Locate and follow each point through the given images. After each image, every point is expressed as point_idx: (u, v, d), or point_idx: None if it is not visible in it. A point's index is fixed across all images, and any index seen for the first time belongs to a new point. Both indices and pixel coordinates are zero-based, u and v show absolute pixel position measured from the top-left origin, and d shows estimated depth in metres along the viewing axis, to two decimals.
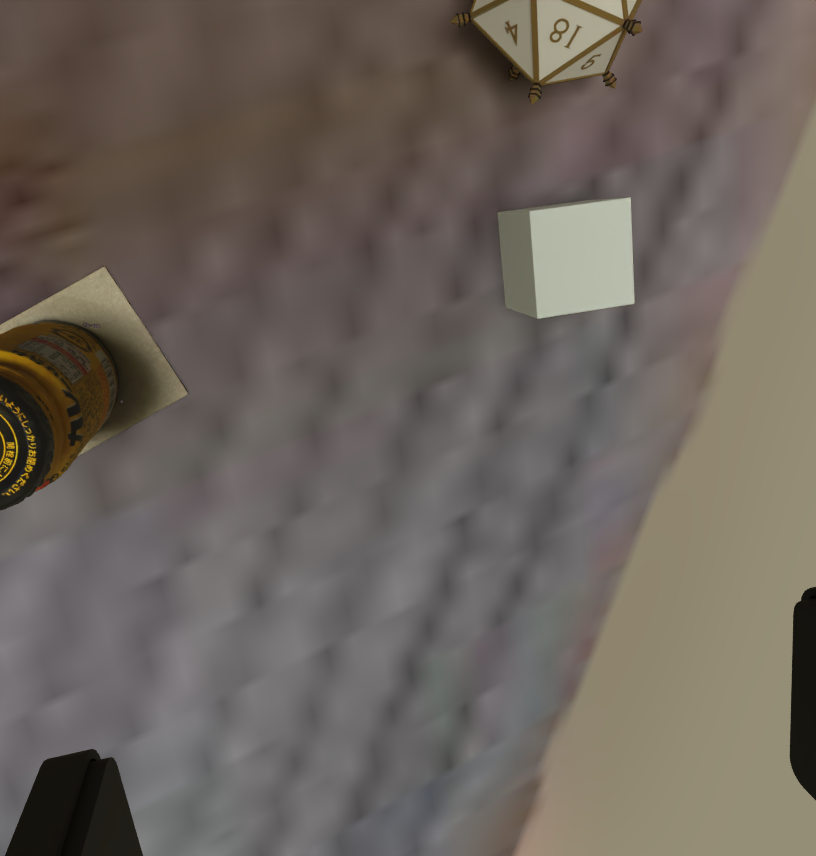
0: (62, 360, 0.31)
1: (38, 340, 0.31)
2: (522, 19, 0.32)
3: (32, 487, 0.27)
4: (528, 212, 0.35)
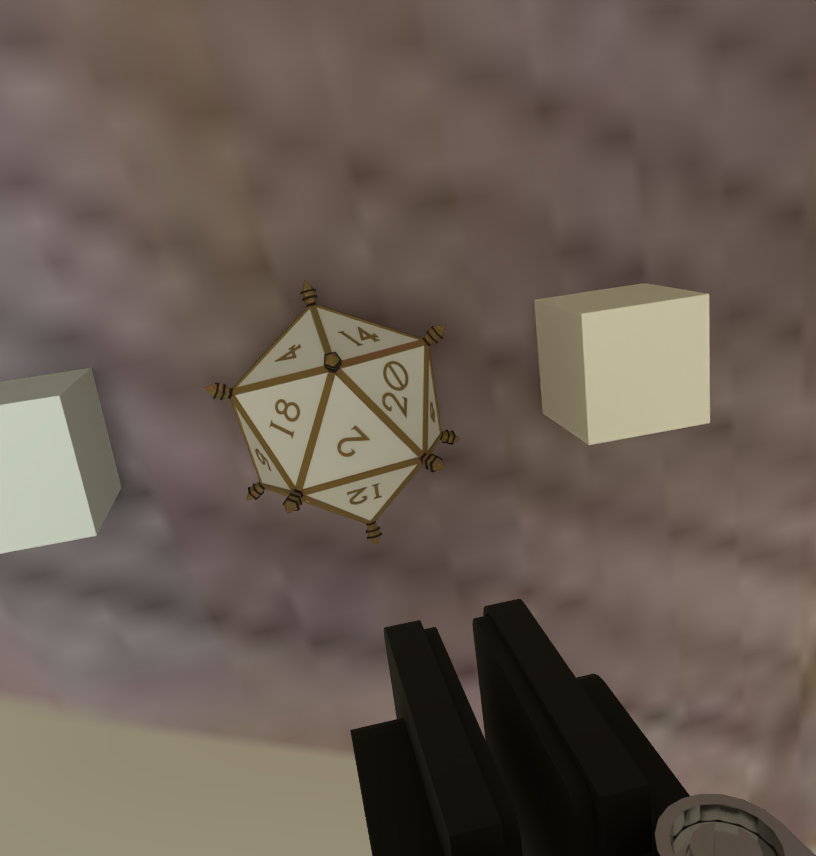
0: None
1: None
2: (299, 363, 0.25)
3: None
4: (58, 394, 0.25)
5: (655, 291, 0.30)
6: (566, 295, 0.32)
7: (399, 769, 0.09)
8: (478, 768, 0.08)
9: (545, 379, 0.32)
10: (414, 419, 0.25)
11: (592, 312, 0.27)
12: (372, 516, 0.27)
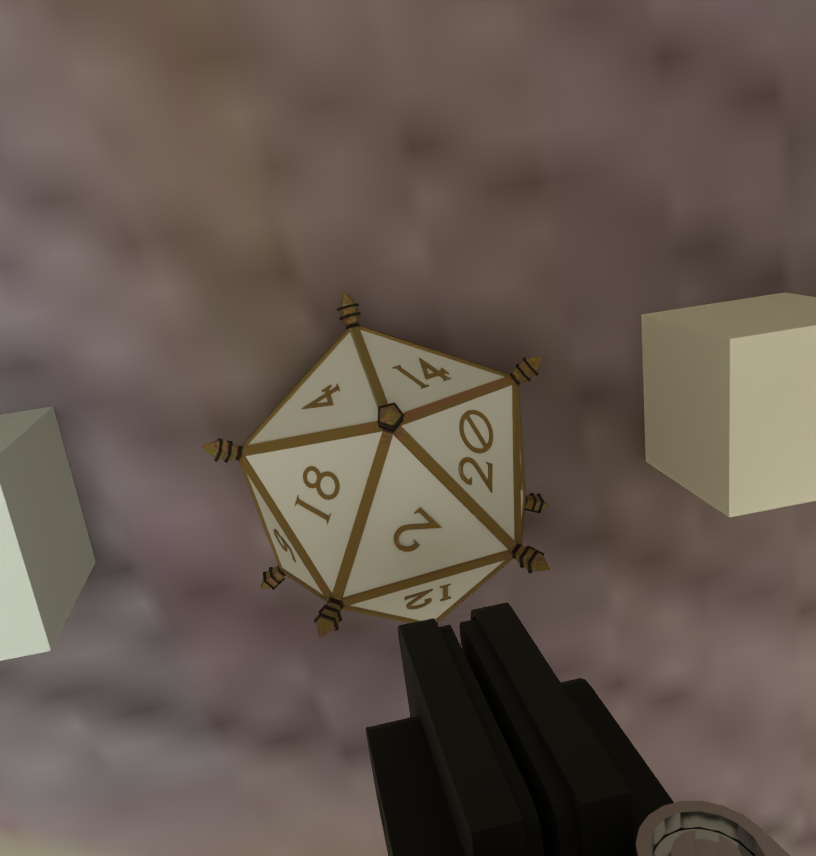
0: None
1: None
2: (339, 414, 0.17)
3: None
4: None
5: (814, 305, 0.22)
6: (684, 308, 0.24)
7: (416, 766, 0.09)
8: (498, 765, 0.08)
9: (655, 420, 0.24)
10: (502, 494, 0.17)
11: (744, 336, 0.19)
12: (434, 618, 0.20)
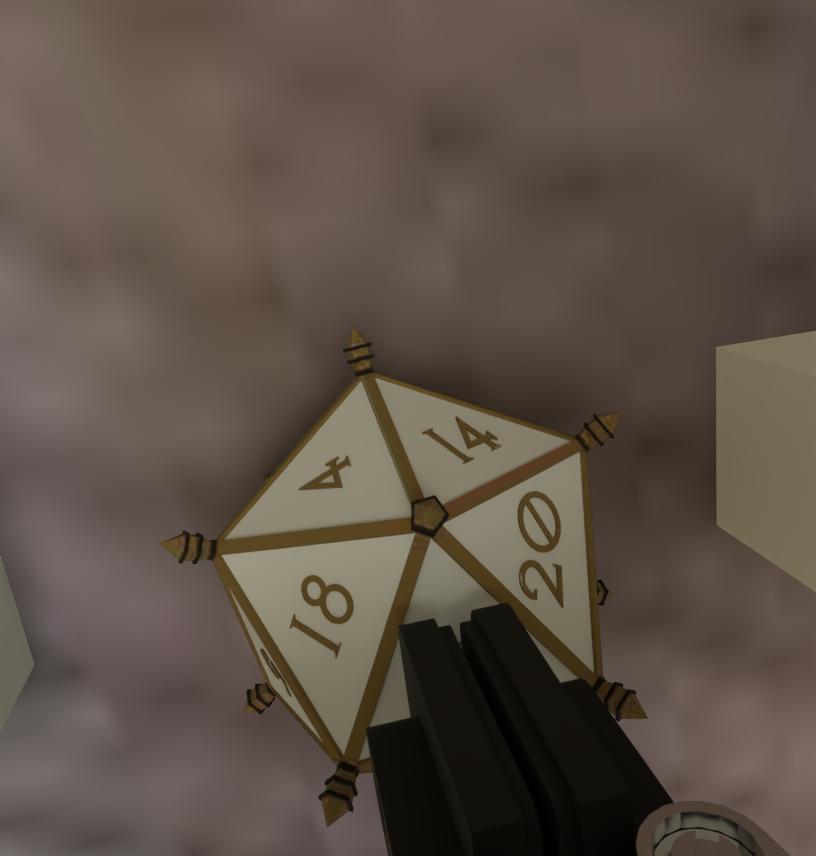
0: None
1: None
2: (351, 502, 0.12)
3: None
4: None
5: None
6: (769, 340, 0.19)
7: (415, 766, 0.09)
8: (498, 766, 0.08)
9: (732, 477, 0.20)
10: (576, 607, 0.13)
11: None
12: None
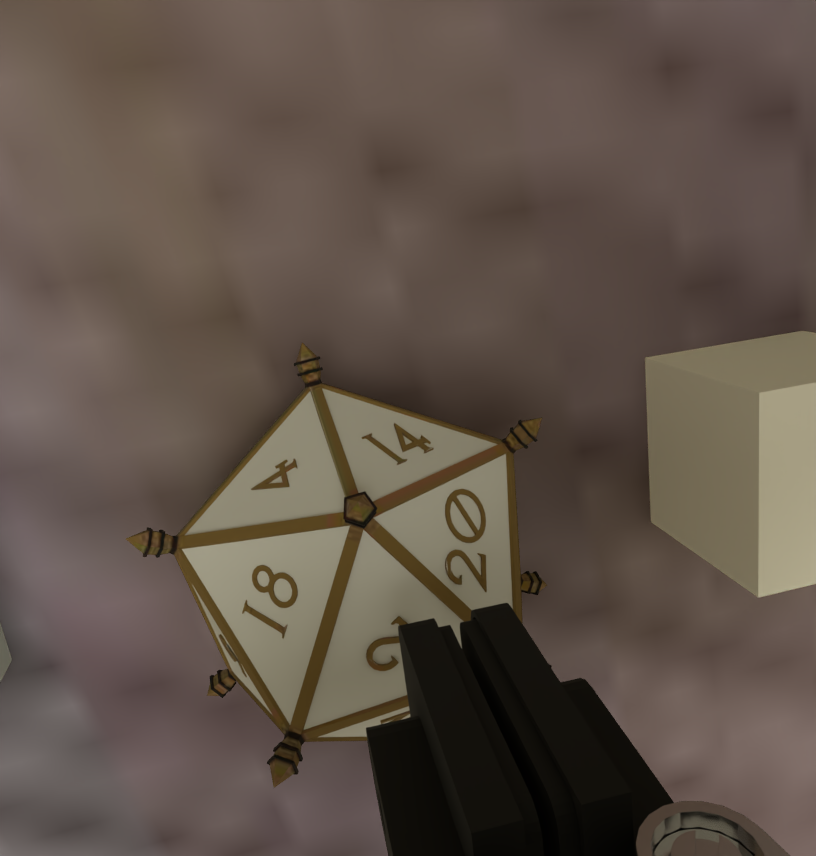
0: None
1: None
2: (296, 499, 0.14)
3: None
4: None
5: None
6: (692, 350, 0.21)
7: (415, 767, 0.09)
8: (498, 765, 0.08)
9: (663, 477, 0.21)
10: (498, 592, 0.14)
11: (776, 390, 0.17)
12: None
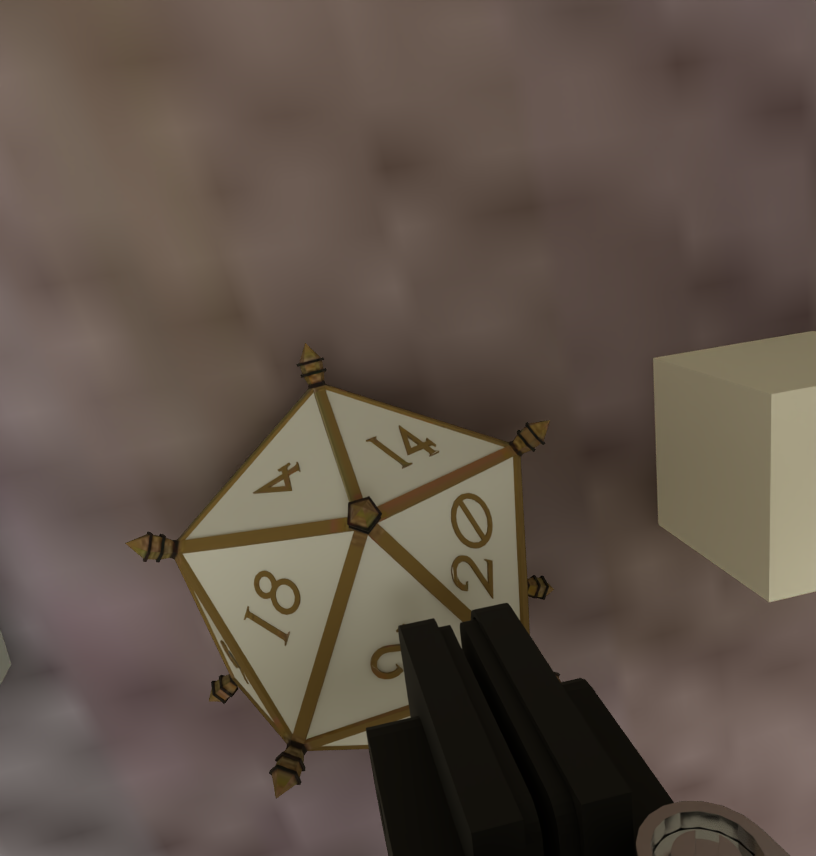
0: None
1: None
2: (299, 503, 0.13)
3: None
4: None
5: None
6: (701, 351, 0.21)
7: (416, 766, 0.09)
8: (498, 765, 0.08)
9: (670, 479, 0.21)
10: (505, 598, 0.14)
11: (788, 391, 0.16)
12: None
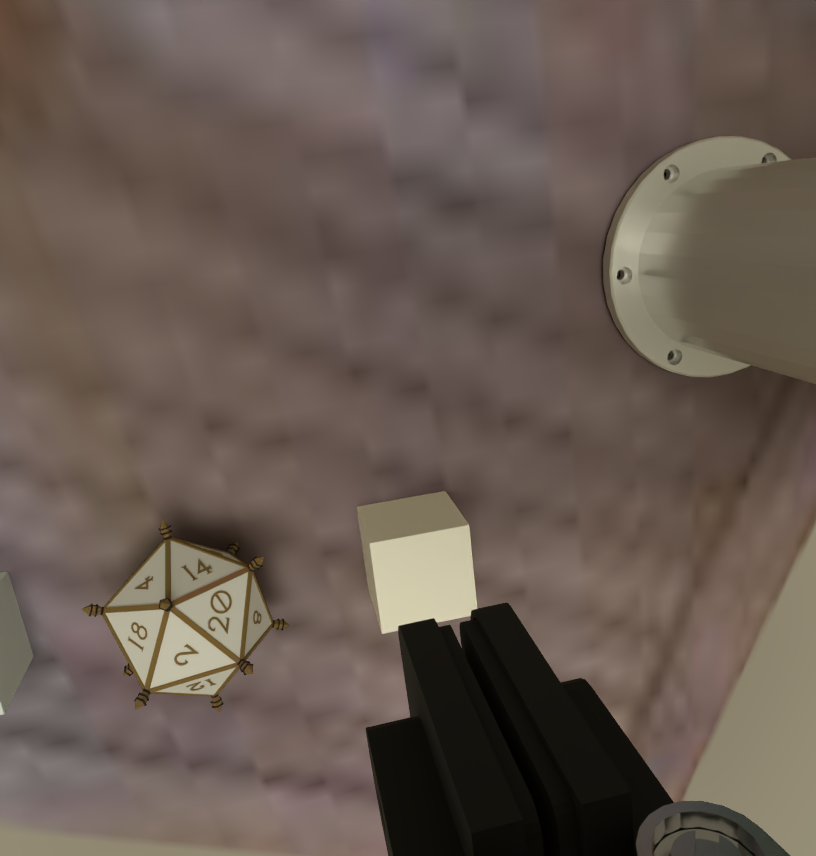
0: None
1: None
2: (149, 595, 0.34)
3: None
4: None
5: (440, 510, 0.39)
6: (381, 503, 0.41)
7: (416, 766, 0.09)
8: (498, 765, 0.08)
9: (366, 567, 0.41)
10: (234, 633, 0.34)
11: (378, 541, 0.37)
12: (214, 692, 0.37)
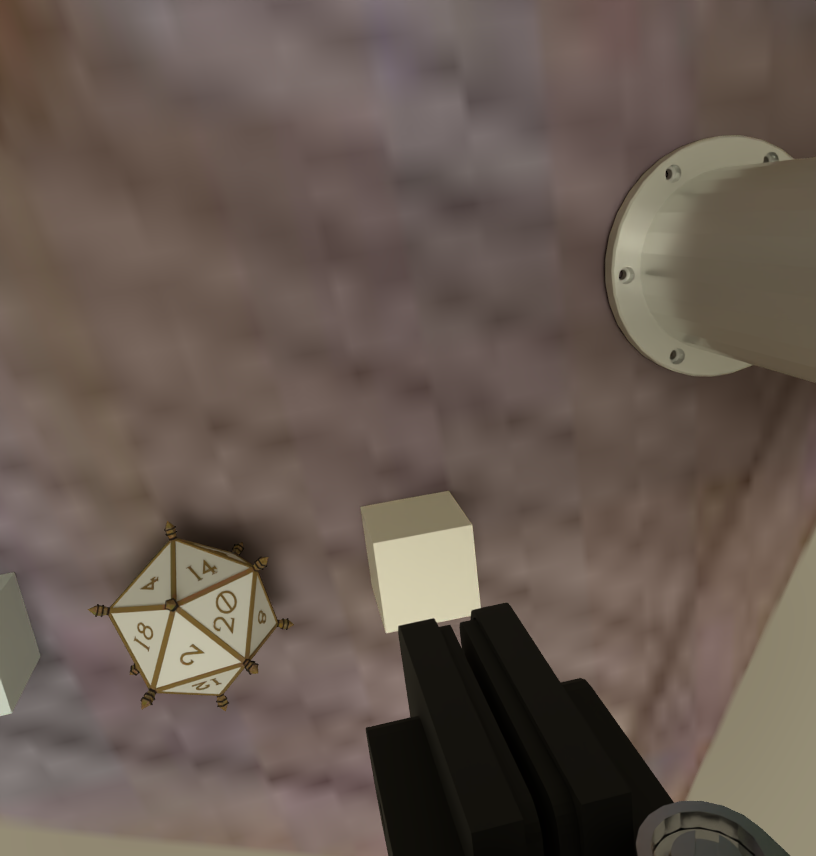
0: None
1: None
2: (154, 596, 0.34)
3: None
4: None
5: (443, 510, 0.39)
6: (385, 503, 0.41)
7: (415, 766, 0.09)
8: (497, 765, 0.08)
9: (370, 567, 0.42)
10: (239, 633, 0.35)
11: (381, 541, 0.37)
12: (219, 692, 0.37)
